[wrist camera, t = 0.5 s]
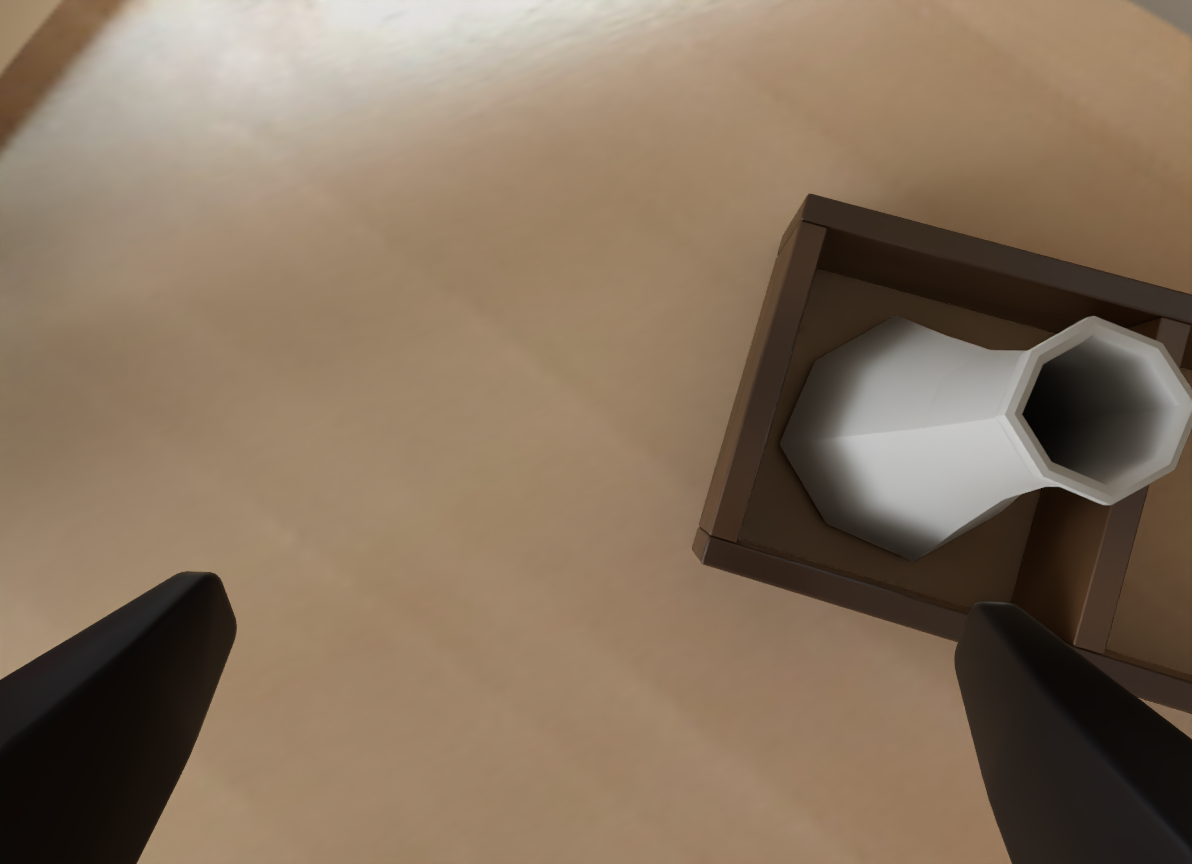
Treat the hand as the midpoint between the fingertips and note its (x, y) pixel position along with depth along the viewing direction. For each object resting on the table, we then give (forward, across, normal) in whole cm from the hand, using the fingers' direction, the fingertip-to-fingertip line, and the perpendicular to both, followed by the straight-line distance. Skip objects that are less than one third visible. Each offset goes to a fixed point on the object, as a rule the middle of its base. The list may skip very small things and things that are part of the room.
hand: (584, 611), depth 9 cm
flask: (+14, -9, +6) cm, 17 cm away
